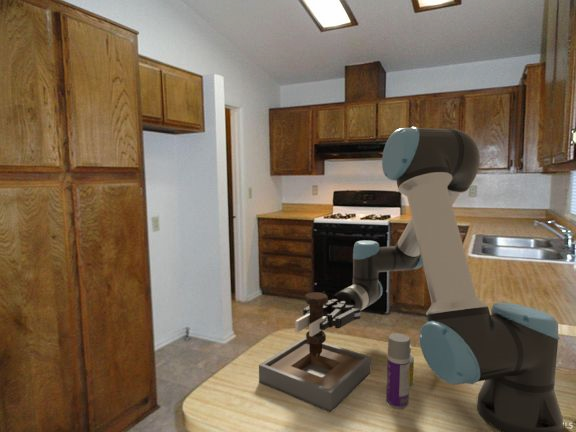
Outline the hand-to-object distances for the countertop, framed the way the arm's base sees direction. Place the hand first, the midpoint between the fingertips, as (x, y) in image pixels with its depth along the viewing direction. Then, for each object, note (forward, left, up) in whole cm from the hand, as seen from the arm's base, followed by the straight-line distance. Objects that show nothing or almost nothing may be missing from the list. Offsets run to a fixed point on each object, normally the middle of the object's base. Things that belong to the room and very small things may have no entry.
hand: (303, 328), depth 89 cm
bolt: (0, -6, -9) cm, 10 cm away
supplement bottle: (-18, -15, -15) cm, 28 cm away
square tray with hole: (0, -5, -14) cm, 15 cm away
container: (-20, -7, -15) cm, 26 cm away
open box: (0, -5, -14) cm, 15 cm away
